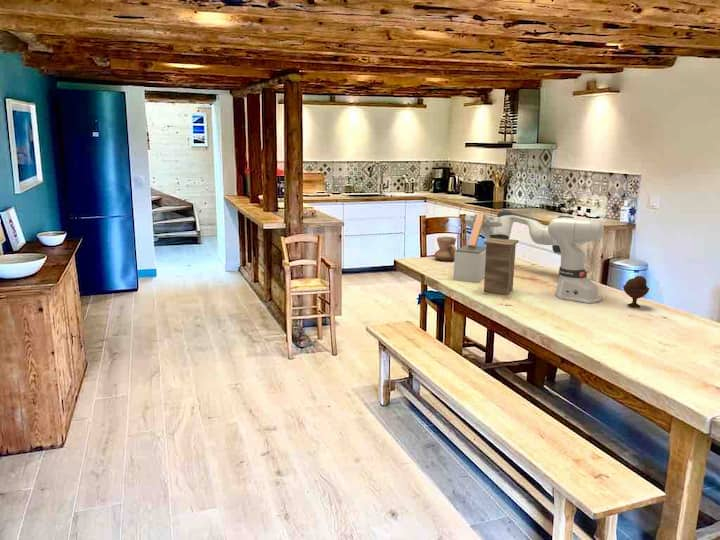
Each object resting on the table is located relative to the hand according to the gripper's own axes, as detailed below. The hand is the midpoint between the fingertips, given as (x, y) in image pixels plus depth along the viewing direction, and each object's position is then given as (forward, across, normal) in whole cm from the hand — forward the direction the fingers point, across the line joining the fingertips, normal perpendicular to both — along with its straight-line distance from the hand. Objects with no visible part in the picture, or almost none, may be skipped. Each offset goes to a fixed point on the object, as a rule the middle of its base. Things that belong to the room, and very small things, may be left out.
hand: (479, 215), depth 338 cm
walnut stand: (+12, -21, -46) cm, 52 cm away
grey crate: (-6, 0, -35) cm, 36 cm away
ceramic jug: (-40, +28, -16) cm, 51 cm away
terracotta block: (0, 0, -10) cm, 10 cm away
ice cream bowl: (+9, -85, -45) cm, 96 cm away
